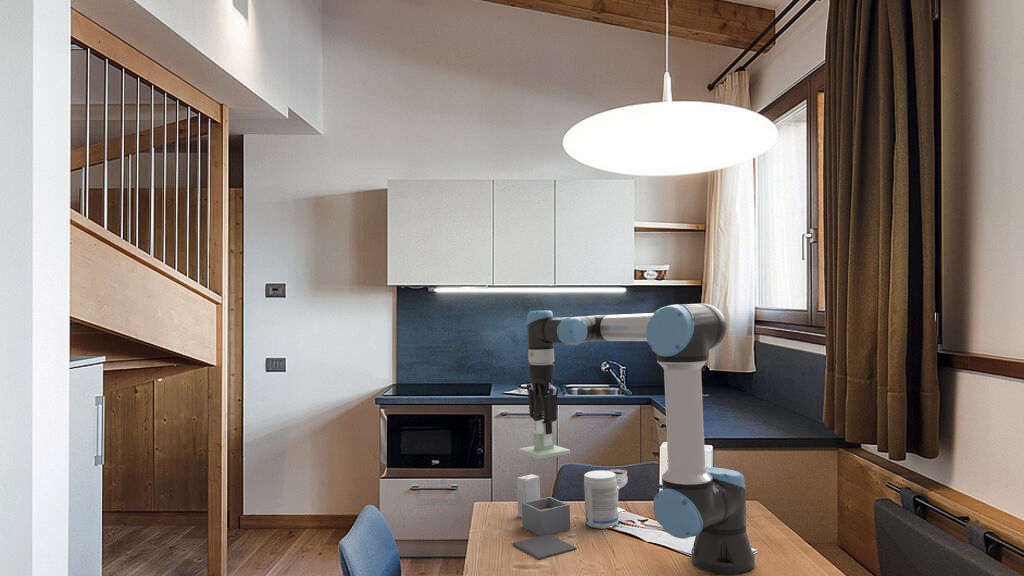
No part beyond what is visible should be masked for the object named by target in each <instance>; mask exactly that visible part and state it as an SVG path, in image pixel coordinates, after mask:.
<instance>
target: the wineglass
mask: <svg viewBox="0 0 1024 576" xmlns="http://www.w3.org/2000/svg"><path fill="white" fill-rule="evenodd" d="M606 471H610V472H613V473H615V474H616V481H617V500H618V501H619V490H620V489H621V488H623V487H625V486H626V484H627V483H628V479H629V478H628V475H627V474H628V470H626V469H621V468H620V469H619V468H613V469H612V468H611V469H608V470H606ZM620 511H625V512H626V509H624V508H622V507H618V512H620Z"/></svg>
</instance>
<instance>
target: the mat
mask: <svg viewBox="0 0 1024 576" xmlns="http://www.w3.org/2000/svg"><path fill="white" fill-rule="evenodd" d="M512 546H514V547H516V548H517V549H520V550H521V551H523V552H525V553H527V554H528V555H530V556H531V557H534V558H535V559H537V560H543V559H547V558H550V557H553V556H557V555H561V554H564V553H568V552H573V551H575V550H577V547H576V546H574V545H572V544H571V543H568V542H566V541H564V540H562V539H560V538H558V537H557V536H556V537H555V536H554V535H553V534H546V535H542V536H540V535H537V536H534V537H530V538H527V539H523V540H519V541H518V540H517V541H515V542H512Z"/></svg>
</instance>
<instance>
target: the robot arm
mask: <svg viewBox="0 0 1024 576" xmlns="http://www.w3.org/2000/svg"><path fill="white" fill-rule="evenodd" d="M553 315H554V314H553V311H552V310H547V309H546V310H530V311H529V312H528V313H527V316H526V317H527V318H526V319H527V320H526V331H527V349H528V350H527V351H528V353H527V355H528V363H529V365H528V377H530V378H532V380H531V382H530V383H527V384H526V389H527V394H528V407H529V408H528V409H529V417H530V418H532V419H533V421H534V432H539V431H542V432H543V446H548V445H552V431H553V422H556V421H557V420H558V394H559V391H560V390H559V388H558V386H557V387H555V386H554V385H553V384H554V383H553V380H552V378H553V377H555V374H556V373H555V372H556V371H555V364H554V362H555V346H554V345H555V344H556V345H567V346H577V345H580V344H582V343H591V342H592V343H593V342H647V344H648V346H649V347H650V348H651V350H652V352H653V353H655V354H656V362H657V364H659V365H660V366H661V367H662V369H663V375H664V376H663V377H664V380H663V381H664V399H665V400H664V401H665V403H664V404H665V405H664V406H665V425H666V426H665V428H666V450H667V470H665V472H664V473H662V475H661V481H662V482H661V485H662V486H661V487H662V489H660V490H659V491H658V492H657V494H656V495H655V497H654V499H653V508H652V509H653V513H654V516H655V518H656V519H655V520H657V522H658V524H659V525H660V526H661V527H662V529H663V530H664V531H665V532H666V533H667V534H668V535H670V536H671V537H674V538H676V539H683V540H684V539H688V538H693V537H694V541H693V546H692V548H691V550H690V551H691V554H690V555H691V557H690V558H691V562H692V563H693V565H694V566H695V567H697V568H699V569H701V570H702V571H707V572H710V573H713V574H714V573H716V574H722V575H723V574H724V575H739V574H743V573H747V572H750V571H752V570H753V569H755V567H756V559H755V558H756V557H755V552H754V551H753V550H752V547H751V543H750V539H749V537H748V534H747V510H746V509H747V507H746V506H747V504H746V503H747V502H746V490H747V489H746V488H747V487H746V485H745V476H744V475H743V474H742V473H741V472H740V471H738V470H733V469H729V468H722V467H713V466H711V467H710V466H706V455H705V454H706V452H705V451H706V449H705V433H704V430H705V429H704V411H703V410H704V405H703V402H704V401H703V383H702V369H703V367H704V365H705V364H706V363H708V351H710V350H712V349H714V348H716V347H718V346H719V345H720V344H721V343H722V342H723V340H724V339H725V337H726V334H727V327H728V326H727V322H726V321H727V320H726V317H725V316H724V315H723V313H722V312H721V310H719V309H718V308H716V307H715V306H713V305H712V304H709V303H689V304H687V303H685V304H684V303H683V304H679V303H678V304H677V303H676V304H671V305H670V304H669V305H667V306H663V307H660V308H659V309H656V311H655V312H652V313H651V312H650V313H631V314H630V313H629V314H628V313H627V314H607V315H606V314H595V315H587V316H567V317H554V316H553Z"/></svg>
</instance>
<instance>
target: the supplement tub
mask: <svg viewBox="0 0 1024 576" xmlns="http://www.w3.org/2000/svg"><path fill="white" fill-rule="evenodd" d="M583 477H584V478H583V486H584V487H583V489H584V508H585V510H584V511H585V513H584V514H585V523H586V525H588V526H589V527H590V528H594V529H603V530H604V529H609V528H608V527H610V526H614V525H616V526H617V525H618V524H619V513H618V508H619V499H618V500H617V481H616V474H615V473H613V472H610V471H607V470H591V471H587V472H586V473H584V476H583ZM614 527H615V526H614Z"/></svg>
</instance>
